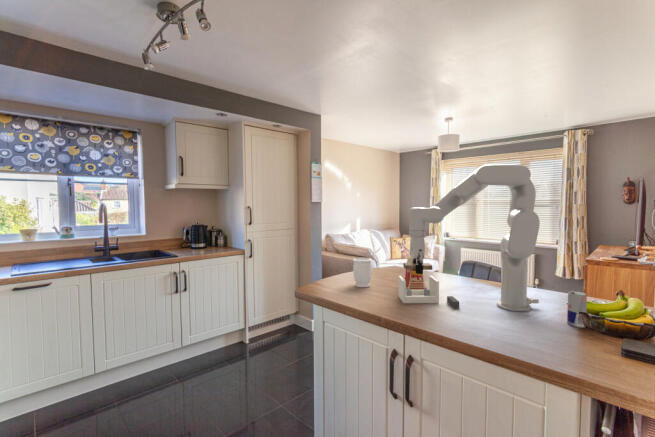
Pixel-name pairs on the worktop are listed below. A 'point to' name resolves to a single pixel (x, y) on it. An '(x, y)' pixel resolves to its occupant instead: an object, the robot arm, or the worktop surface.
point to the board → (413, 266)
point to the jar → (362, 271)
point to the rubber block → (453, 302)
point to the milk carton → (414, 278)
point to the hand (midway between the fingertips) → (417, 271)
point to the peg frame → (419, 292)
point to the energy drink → (576, 308)
